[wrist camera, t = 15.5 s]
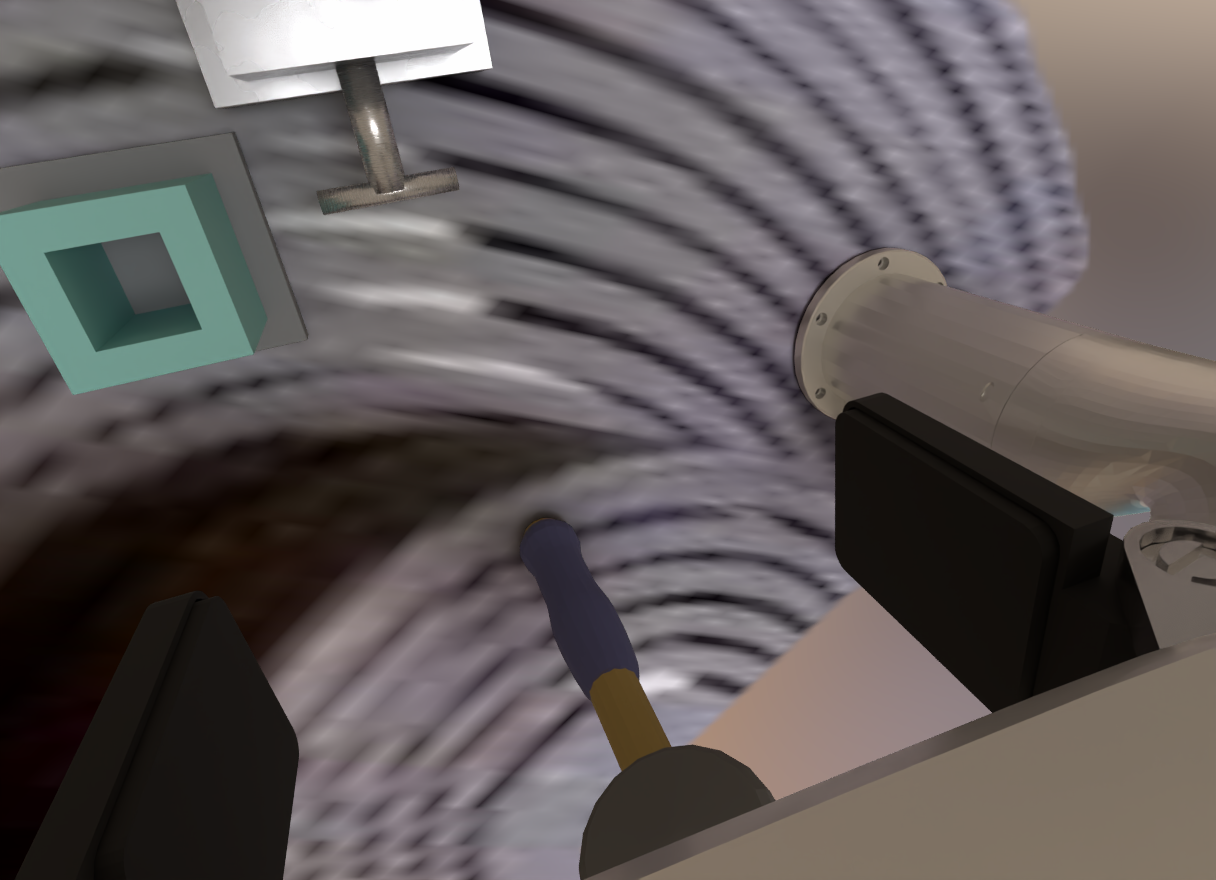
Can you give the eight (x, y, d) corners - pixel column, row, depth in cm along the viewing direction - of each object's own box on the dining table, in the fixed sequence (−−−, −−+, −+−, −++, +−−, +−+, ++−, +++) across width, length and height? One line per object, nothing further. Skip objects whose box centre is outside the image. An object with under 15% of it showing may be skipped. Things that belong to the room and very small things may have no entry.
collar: (267, 318, 34) (253, 354, 29) (115, 351, 33) (72, 395, 28) (211, 173, 31) (184, 184, 26) (39, 201, 29) (-26, 219, 24)
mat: (308, 334, 36) (307, 339, 35) (101, 380, 34) (95, 387, 33) (234, 132, 32) (231, 132, 31) (-11, 170, 29) (-22, 171, 28)
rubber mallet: (451, 492, 43) (604, 1045, 17) (556, 437, 44) (847, 887, 18) (531, 619, 49) (729, 1160, 24) (621, 569, 50) (904, 1039, 25)
